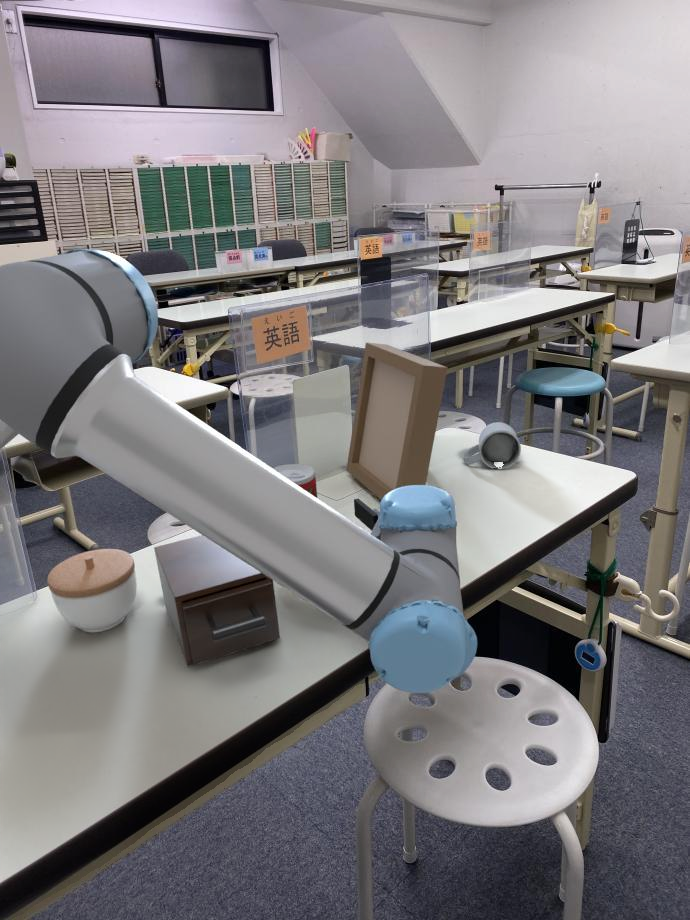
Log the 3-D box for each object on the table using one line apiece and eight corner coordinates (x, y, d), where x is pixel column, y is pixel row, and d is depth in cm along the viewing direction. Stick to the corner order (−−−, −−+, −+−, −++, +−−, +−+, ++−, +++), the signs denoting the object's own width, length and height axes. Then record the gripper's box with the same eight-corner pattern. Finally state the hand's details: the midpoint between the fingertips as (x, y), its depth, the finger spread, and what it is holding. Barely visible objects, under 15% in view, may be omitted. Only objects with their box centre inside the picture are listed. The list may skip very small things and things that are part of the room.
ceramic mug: (515, 453, 136) (515, 416, 133) (521, 469, 128) (521, 430, 126) (461, 455, 137) (460, 419, 135) (463, 471, 130) (462, 433, 127)
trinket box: (73, 654, 84) (56, 589, 81) (50, 617, 93) (34, 556, 89) (156, 620, 90) (143, 558, 87) (127, 587, 98) (115, 529, 95)
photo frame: (397, 518, 113) (391, 371, 104) (346, 475, 132) (337, 346, 123) (474, 499, 118) (474, 356, 109) (414, 459, 137) (410, 335, 128)
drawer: (289, 656, 80) (282, 599, 77) (201, 685, 76) (191, 626, 73) (248, 590, 94) (241, 539, 91) (172, 612, 90) (163, 560, 87)
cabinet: (280, 637, 85) (271, 570, 81) (187, 666, 81) (174, 597, 77) (248, 586, 97) (240, 525, 93) (166, 609, 92) (153, 547, 89)
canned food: (320, 545, 106) (314, 480, 102) (269, 549, 106) (261, 484, 102) (321, 523, 113) (315, 461, 109) (273, 526, 113) (265, 465, 109)
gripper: (284, 644, 78) (234, 563, 96) (469, 584, 87) (391, 520, 105) (277, 588, 75) (227, 515, 93) (469, 531, 84) (389, 475, 102)
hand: (314, 518), depth 99 cm, fingers open, 13 cm apart
